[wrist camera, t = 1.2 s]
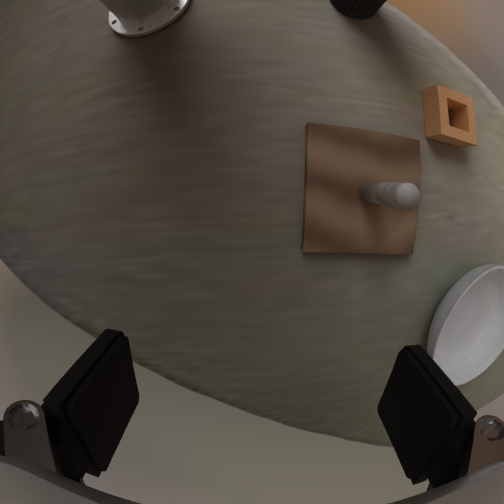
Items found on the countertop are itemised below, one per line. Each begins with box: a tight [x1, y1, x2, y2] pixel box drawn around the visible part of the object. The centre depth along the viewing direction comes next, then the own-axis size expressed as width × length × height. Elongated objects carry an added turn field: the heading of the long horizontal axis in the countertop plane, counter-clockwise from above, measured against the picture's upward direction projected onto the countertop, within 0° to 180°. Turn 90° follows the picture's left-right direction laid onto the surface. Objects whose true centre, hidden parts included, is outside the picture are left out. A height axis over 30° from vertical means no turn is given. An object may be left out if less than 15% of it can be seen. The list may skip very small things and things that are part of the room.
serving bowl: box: [427, 264, 504, 386], centre depth 33 cm, size 21×21×7 cm
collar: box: [422, 84, 477, 147], centre depth 27 cm, size 7×7×4 cm
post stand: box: [301, 123, 420, 255], centre depth 27 cm, size 15×15×12 cm
